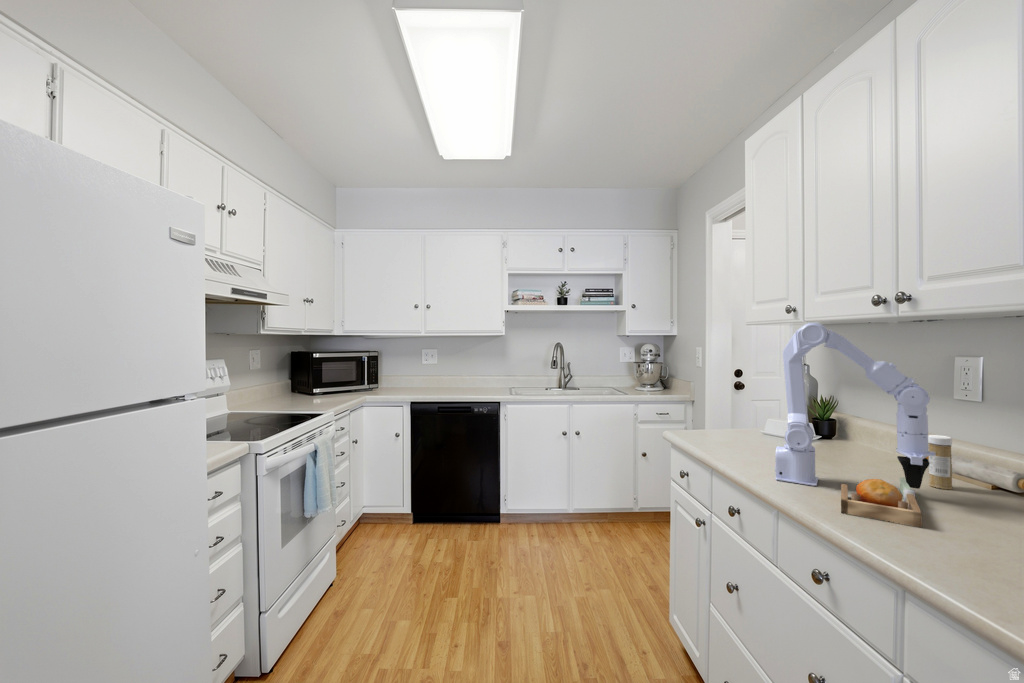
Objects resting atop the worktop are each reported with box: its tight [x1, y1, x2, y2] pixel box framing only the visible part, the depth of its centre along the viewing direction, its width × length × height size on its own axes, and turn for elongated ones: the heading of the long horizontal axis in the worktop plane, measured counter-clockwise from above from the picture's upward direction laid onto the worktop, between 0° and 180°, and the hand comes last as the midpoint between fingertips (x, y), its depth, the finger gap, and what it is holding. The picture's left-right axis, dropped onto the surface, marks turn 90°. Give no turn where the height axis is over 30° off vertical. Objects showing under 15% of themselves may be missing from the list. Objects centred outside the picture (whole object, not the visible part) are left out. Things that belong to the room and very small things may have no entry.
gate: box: [899, 476, 916, 502], centre depth 107 cm, size 13×2×3 cm, turn 144°
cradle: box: [840, 483, 923, 528], centre depth 100 cm, size 13×13×4 cm
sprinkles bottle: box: [928, 434, 953, 490], centre depth 115 cm, size 5×5×14 cm
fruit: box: [855, 478, 903, 508], centre depth 100 cm, size 8×8×8 cm
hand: (913, 487), depth 108 cm, fingers closed, pressing on gate
